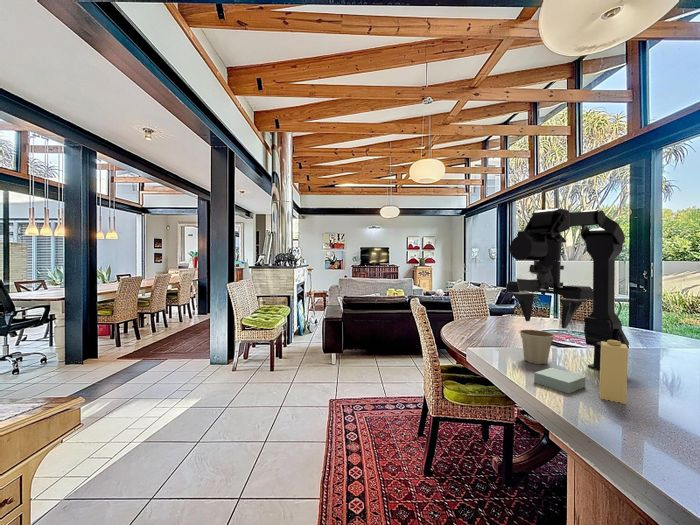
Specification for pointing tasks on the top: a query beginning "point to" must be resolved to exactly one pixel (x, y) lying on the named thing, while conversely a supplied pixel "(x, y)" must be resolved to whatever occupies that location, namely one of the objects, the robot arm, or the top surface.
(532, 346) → the flower pot
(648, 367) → the top surface
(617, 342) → the tower brick
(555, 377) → the plinth brick
